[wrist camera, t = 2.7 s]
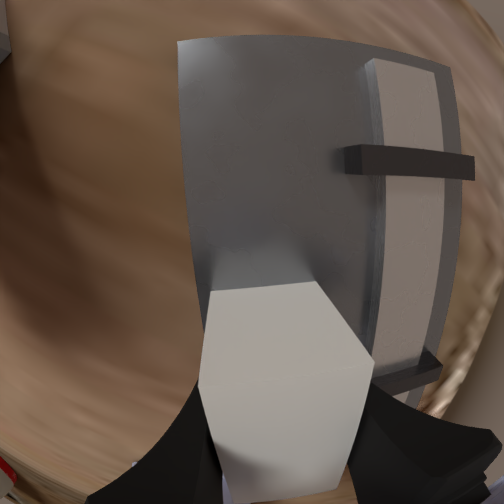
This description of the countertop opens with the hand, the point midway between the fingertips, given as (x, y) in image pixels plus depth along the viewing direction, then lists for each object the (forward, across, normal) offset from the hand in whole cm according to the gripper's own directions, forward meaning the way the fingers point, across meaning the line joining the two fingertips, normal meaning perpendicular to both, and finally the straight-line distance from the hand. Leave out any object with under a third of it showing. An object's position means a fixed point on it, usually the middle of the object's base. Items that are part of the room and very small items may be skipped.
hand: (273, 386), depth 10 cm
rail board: (+3, -4, -3) cm, 5 cm away
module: (+2, 0, 0) cm, 2 cm away
